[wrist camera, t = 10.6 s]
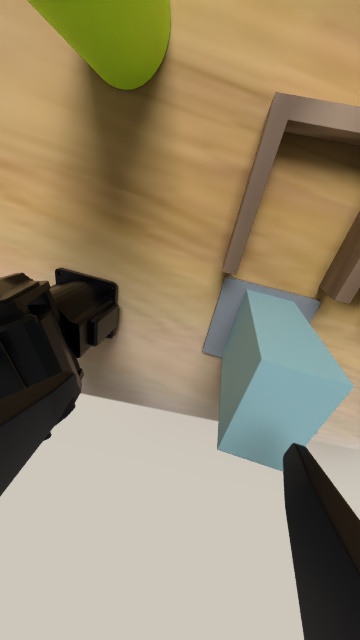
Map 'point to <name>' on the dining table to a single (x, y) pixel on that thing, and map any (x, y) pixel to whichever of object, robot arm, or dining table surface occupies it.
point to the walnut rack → (284, 116)
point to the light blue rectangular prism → (275, 381)
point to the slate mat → (231, 303)
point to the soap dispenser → (113, 35)
